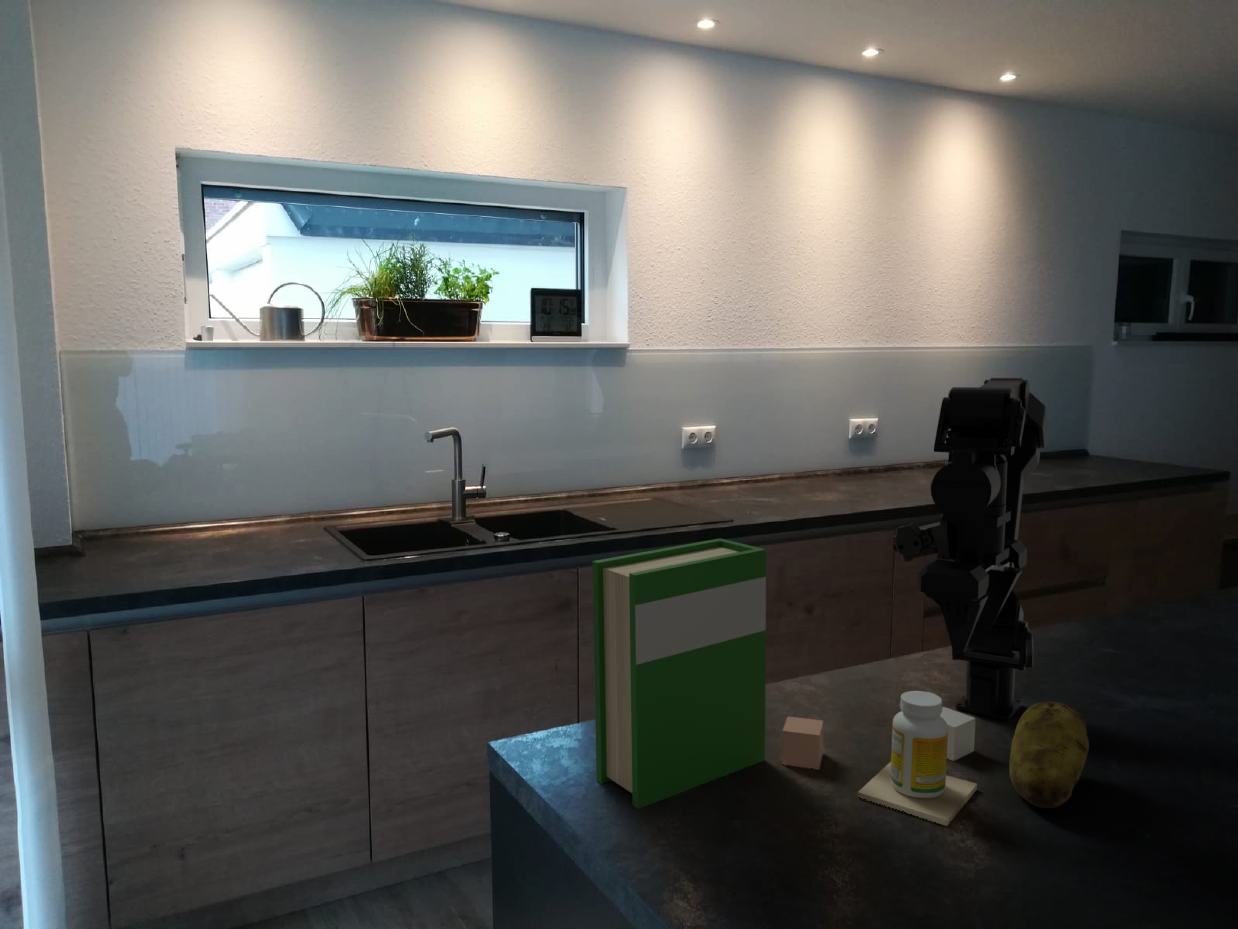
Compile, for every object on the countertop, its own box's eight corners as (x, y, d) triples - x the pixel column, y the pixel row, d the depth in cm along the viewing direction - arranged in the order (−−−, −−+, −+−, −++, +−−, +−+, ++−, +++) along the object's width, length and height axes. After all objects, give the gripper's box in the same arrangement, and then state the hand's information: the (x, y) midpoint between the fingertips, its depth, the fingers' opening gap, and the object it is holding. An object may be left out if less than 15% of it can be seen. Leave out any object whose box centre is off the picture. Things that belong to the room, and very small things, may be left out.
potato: (976, 794, 91) (979, 720, 90) (1031, 755, 99) (1034, 686, 98) (1060, 826, 85) (1064, 746, 84) (1111, 781, 93) (1116, 708, 92)
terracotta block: (787, 749, 102) (787, 716, 101) (823, 754, 101) (823, 720, 100) (782, 765, 98) (782, 730, 98) (818, 770, 97) (819, 735, 96)
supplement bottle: (881, 788, 91) (883, 698, 90) (904, 770, 95) (907, 683, 94) (931, 806, 87) (935, 713, 86) (954, 786, 91) (958, 697, 90)
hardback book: (638, 809, 89) (634, 575, 86) (596, 780, 95) (592, 561, 92) (764, 760, 99) (766, 549, 96) (720, 737, 105) (720, 538, 102)
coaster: (892, 765, 98) (892, 760, 97) (976, 789, 92) (977, 784, 92) (857, 797, 91) (857, 792, 90) (946, 826, 85) (947, 820, 85)
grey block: (942, 739, 104) (943, 707, 103) (974, 751, 101) (975, 718, 100) (922, 749, 102) (923, 715, 101) (953, 762, 98) (954, 727, 98)
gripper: (934, 484, 109) (930, 608, 111) (871, 508, 95) (868, 649, 97) (1030, 493, 102) (1025, 624, 104) (979, 519, 88) (973, 671, 90)
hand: (972, 640), depth 99 cm, fingers open, 9 cm apart
